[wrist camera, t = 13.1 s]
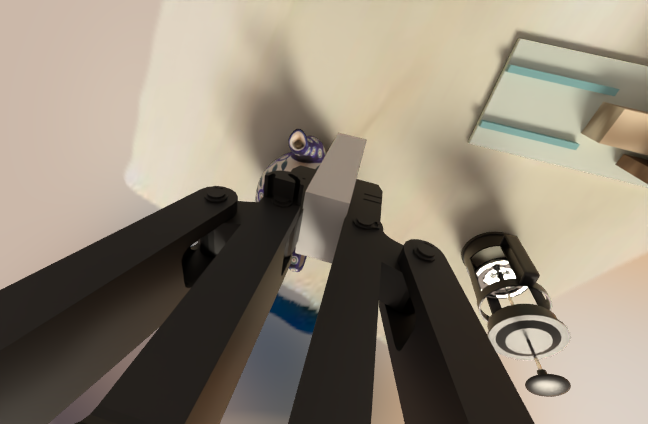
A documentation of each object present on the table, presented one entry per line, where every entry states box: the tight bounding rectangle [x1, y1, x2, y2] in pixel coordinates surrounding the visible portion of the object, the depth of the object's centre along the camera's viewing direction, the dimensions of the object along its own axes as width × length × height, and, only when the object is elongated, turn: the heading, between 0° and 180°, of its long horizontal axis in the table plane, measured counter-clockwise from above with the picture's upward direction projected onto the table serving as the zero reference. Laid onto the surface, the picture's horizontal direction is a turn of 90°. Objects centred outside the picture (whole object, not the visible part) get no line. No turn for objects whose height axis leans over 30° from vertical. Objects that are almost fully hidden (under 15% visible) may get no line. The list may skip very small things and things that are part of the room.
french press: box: [462, 232, 571, 397], centre depth 40 cm, size 12×9×23 cm
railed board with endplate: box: [468, 38, 648, 188], centre depth 33 cm, size 13×29×10 cm, turn 80°
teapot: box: [256, 129, 326, 272], centre depth 44 cm, size 25×15×15 cm, turn 173°
